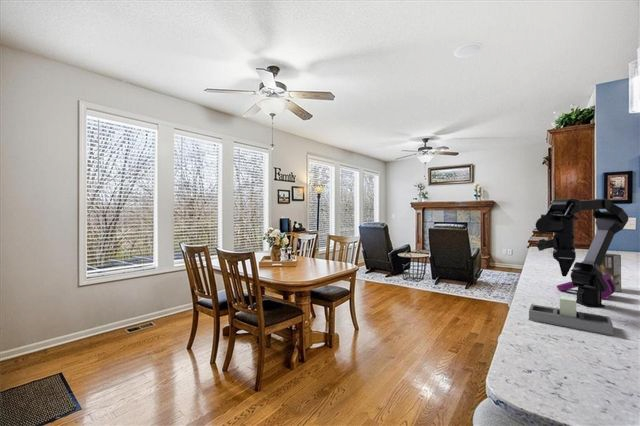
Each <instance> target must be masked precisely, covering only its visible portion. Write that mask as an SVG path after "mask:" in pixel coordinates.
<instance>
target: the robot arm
mask: <svg viewBox="0 0 640 426" xmlns="http://www.w3.org/2000/svg"><path fill="white" fill-rule="evenodd" d="M587 210H588V211H589V210H590V211H591V210H592V216H593V217H594V219H595V225H596V228H597V230H596V233H595V235H594V238H593V239H592V241H591V244H590V246H589V248H588V251H587V252H586V254H585V257H584V259H583V260H582V261H581V262H579V261H575V260H576V248H575V221H578V220H579V218H578V216H576V215H575V214H578V213H580V212H582V211H587ZM601 210H602V211H601ZM628 222H629V215H628V214H627V213H626V211H625V210H624V208H622V207H620V206H618V205H616V204H615V203H613V202H612V201H611V199H609V198H594V199H583V200H581V199H578V198H556V199H553V200H552V202H551V203H550V205H549V206H548V208H547V210H546V212H545V214H540V218H538V219H537V220H536V222H535V229H536V230H537V231H538V232H539V233H541V234H552V233H554V234H553V236H552V238H548V239H545V238H542V239H538V241H536V242H535V244H536V247H537V249H538V251H539V252H540V251H541V252H542V251H544V250H548V249H550V248H553V250H552V258H553V259H555V260H556V261H557V262H558V264H559V269H560V273H561V276H562V277H567V276H568V274H569V272H570V271H571V272H570V279H571V282H572V283H573V286H577V287H576V288H577V291H576V304H581V305H583V306H585V307H587V308H588V307H592V308H593V307H594V308H595V307H598V308H599V307H601V308H603V307H606V305H605V304H602V300H603V299H602V292H605V291H606V290H607V287H608V285H607V284H606V282H605V281H604V280H603V279H602V276H603V273H602V270H601V268H600V266H601V263H602V261H603V259H604V257H605V254H606V253H608V250H609V248H610V245H611V243H612V241H613V239H614V237H615V235H616V234H617V233H618V232H620V231H623V229H624V228H625V227H626V225H627V223H628ZM574 262H575V263H574ZM572 266H573V267H572ZM571 268H572V269H571Z"/></svg>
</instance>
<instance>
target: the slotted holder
mask: <svg viewBox="0 0 640 426" xmlns="http://www.w3.org/2000/svg"><path fill="white" fill-rule="evenodd" d="M532 320H533V321H532ZM528 321H532V322H537V321H538V323H542V324H543V323H545V324H549V325H553V326H559V327H564V328H570V329H573V330H574V329H576V330H579V331H586V332H591V333H595V334H601V335H607V336H611V337H613V336H614V324H613V322H612V319H611V316H607V315H602V314H601V315H600V314H596V313H588V312H581V311H577V310H576V317H570V316H564V315H560V308H559V307H558V308H557V307H550V306H545V305H539V304H533V303H531V304H530V307H529V310H528Z"/></svg>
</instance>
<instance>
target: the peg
mask: <svg viewBox="0 0 640 426" xmlns="http://www.w3.org/2000/svg"><path fill="white" fill-rule="evenodd" d="M576 300H577V297H571V296H570V297H569V296H564V295H563V296H562V295H560V296H559V309H560V315H564V316H570V317H576V311H577V302H576Z"/></svg>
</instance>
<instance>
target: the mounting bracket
mask: <svg viewBox="0 0 640 426" xmlns="http://www.w3.org/2000/svg"><path fill="white" fill-rule="evenodd" d="M602 279H603V280H604V281H605V282H606V284H607V285H608V287H607V290H606V291H605V292H602V300H605V299H607V298H609V297H611V295H613V294H614V293H616V292H615V290H616V286H615V284H614V282H613V280H612V279H611V277H610V276H609V274H608V273H607V274H603V276H602ZM576 288H578V287H577V286H573V283H572V281H567V282H564V283H560V284H558V285H557V284H556V289H557V290H558V291H565V290H571V289H576Z"/></svg>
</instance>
